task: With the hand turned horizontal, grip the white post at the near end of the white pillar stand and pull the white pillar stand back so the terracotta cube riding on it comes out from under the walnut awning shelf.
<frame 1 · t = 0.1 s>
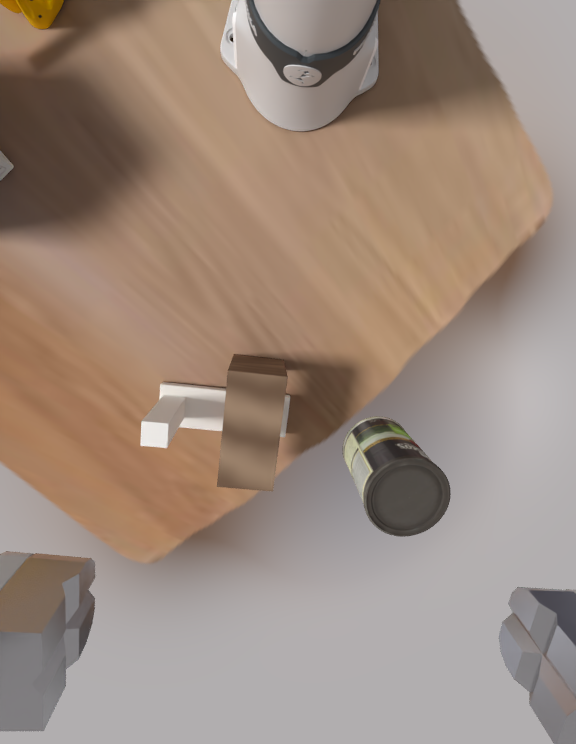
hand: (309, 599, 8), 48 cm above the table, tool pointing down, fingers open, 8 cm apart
white pillar stand: (221, 422, 51), point 6 cm above the table, slide at 0.0 cm, touching cube
shelf: (253, 410, 57), on the table
coffee can: (374, 447, 60), on the table
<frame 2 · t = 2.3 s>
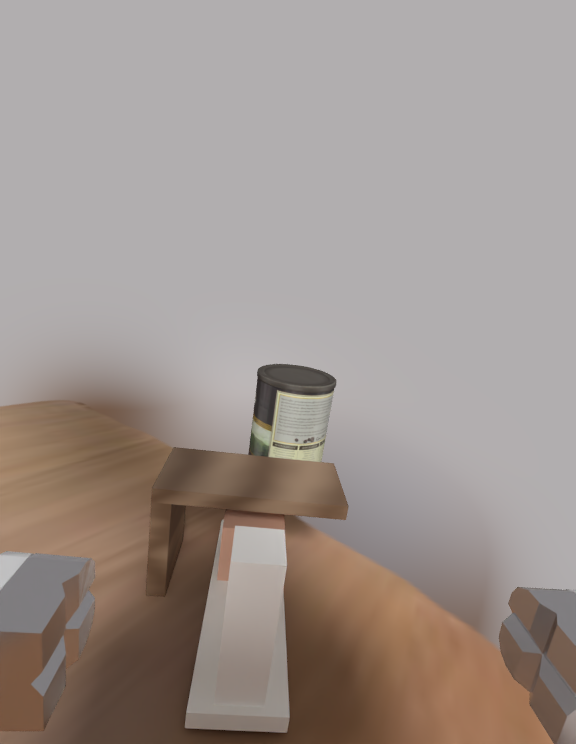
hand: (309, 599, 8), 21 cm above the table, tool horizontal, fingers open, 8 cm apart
cube: (248, 560, 35), point 1 cm above the table, touching white pillar stand
white pillar stand: (252, 545, 30), point 6 cm above the table, slide at 0.0 cm, touching cube
shelf: (247, 570, 36), on the table
coffee can: (282, 472, 54), on the table
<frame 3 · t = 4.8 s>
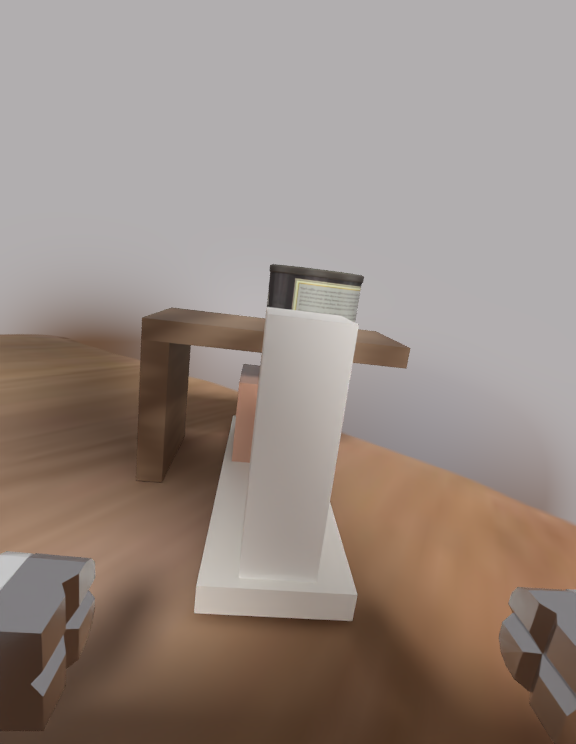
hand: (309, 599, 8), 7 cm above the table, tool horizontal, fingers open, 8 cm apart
cube: (271, 447, 27), point 1 cm above the table, touching white pillar stand
white pillar stand: (281, 401, 22), point 6 cm above the table, slide at 0.0 cm, touching cube
shelf: (268, 464, 27), on the table
coffee can: (300, 394, 46), on the table
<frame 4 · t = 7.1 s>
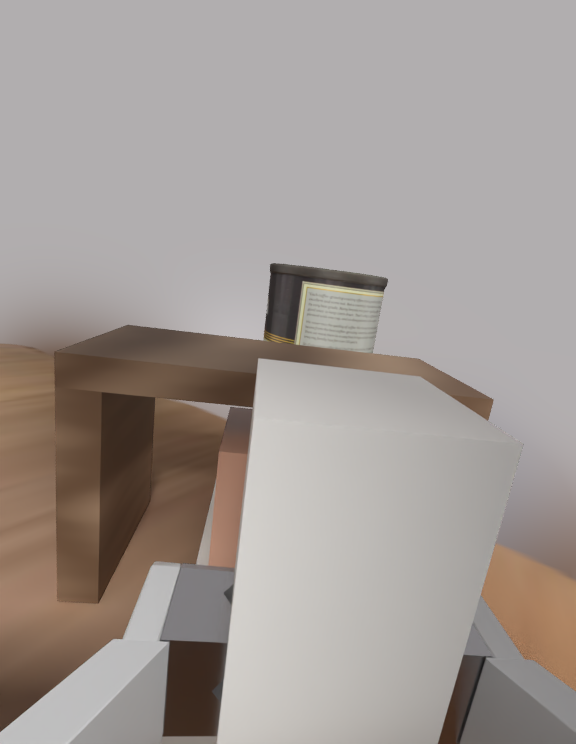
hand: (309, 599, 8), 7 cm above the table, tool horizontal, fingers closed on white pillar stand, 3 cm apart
cube: (270, 532, 18), point 1 cm above the table, touching white pillar stand
white pillar stand: (286, 486, 14), point 6 cm above the table, slide at 0.0 cm, touching cube, gripper
shelf: (266, 552, 19), on the table
coffee can: (306, 422, 38), on the table
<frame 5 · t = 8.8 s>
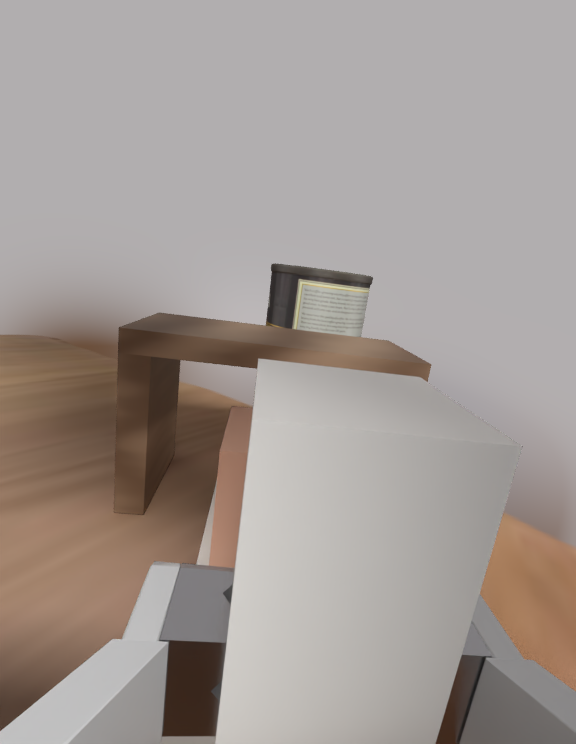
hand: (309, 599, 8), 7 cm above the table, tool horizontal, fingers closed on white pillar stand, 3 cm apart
cube: (270, 530, 18), point 1 cm above the table, touching white pillar stand
white pillar stand: (286, 485, 14), point 6 cm above the table, slide at 5.6 cm, touching cube, gripper
shelf: (267, 489, 24), on the table
coffee can: (302, 402, 43), on the table
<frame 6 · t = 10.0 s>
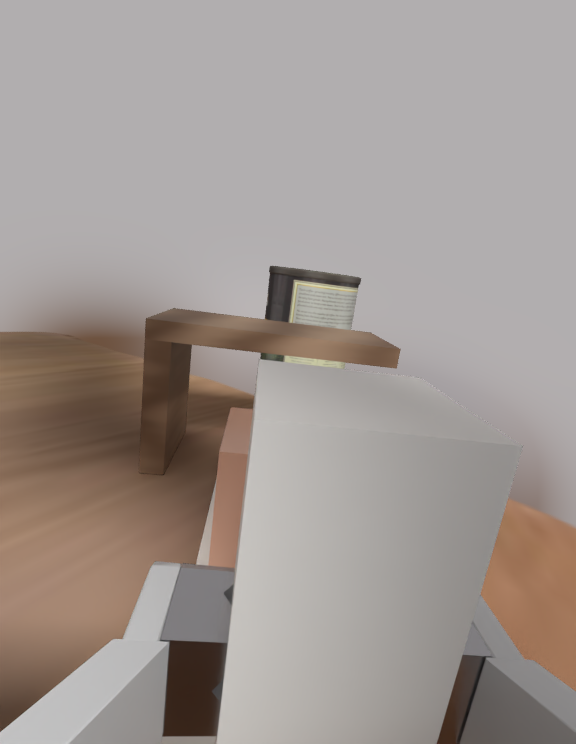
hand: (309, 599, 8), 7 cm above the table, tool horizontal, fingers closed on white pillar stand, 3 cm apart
cube: (270, 532, 18), point 1 cm above the table, touching white pillar stand
white pillar stand: (286, 486, 14), point 6 cm above the table, slide at 9.9 cm, touching cube, gripper
shelf: (265, 459, 29), on the table
coffee can: (298, 392, 47), on the table
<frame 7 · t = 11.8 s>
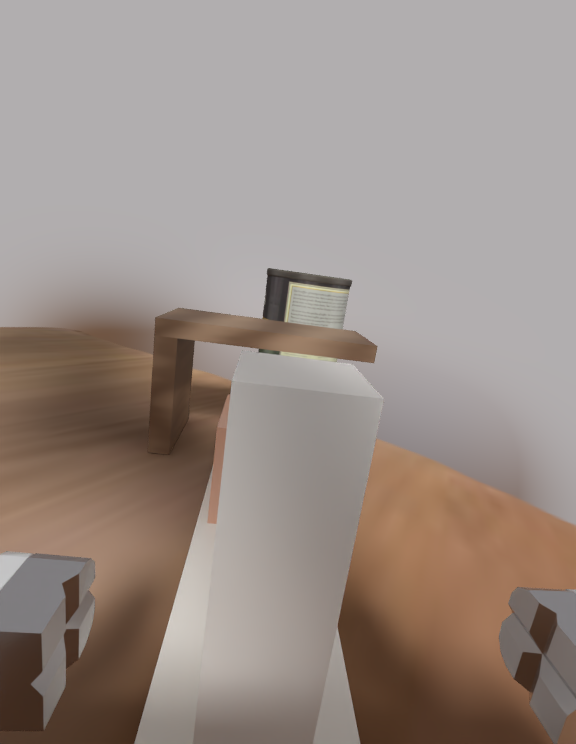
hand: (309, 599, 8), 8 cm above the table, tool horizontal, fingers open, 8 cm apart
cube: (259, 499, 22), point 1 cm above the table, touching white pillar stand
white pillar stand: (270, 454, 17), point 6 cm above the table, slide at 10.0 cm, touching cube
shelf: (260, 443, 32), on the table
coffee can: (293, 386, 51), on the table
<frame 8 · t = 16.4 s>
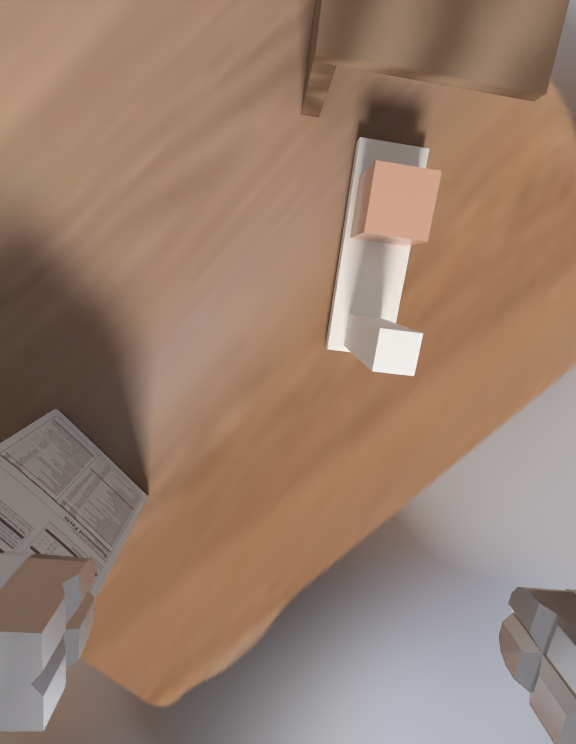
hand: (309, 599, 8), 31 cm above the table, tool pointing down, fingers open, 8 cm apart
cube: (382, 212, 34), point 1 cm above the table, touching white pillar stand
white pillar stand: (391, 251, 31), point 6 cm above the table, slide at 10.0 cm, touching cube
shelf: (400, 83, 33), on the table
supplement box: (59, 489, 40), on the table
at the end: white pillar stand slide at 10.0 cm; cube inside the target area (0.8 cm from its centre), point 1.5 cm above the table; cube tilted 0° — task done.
